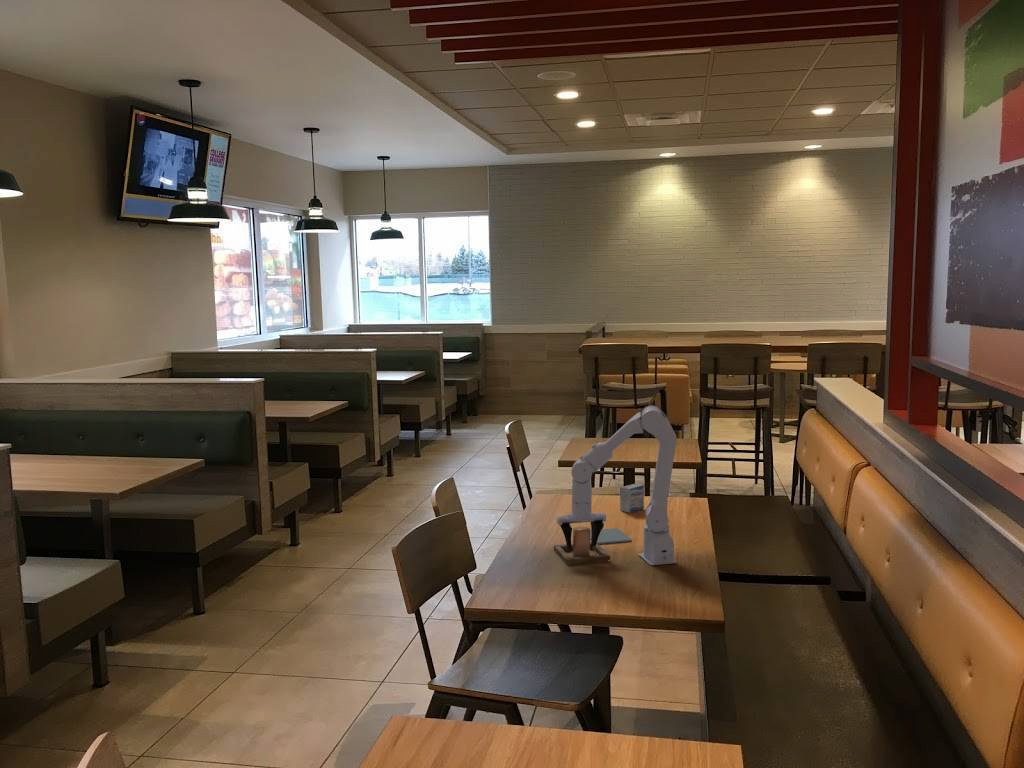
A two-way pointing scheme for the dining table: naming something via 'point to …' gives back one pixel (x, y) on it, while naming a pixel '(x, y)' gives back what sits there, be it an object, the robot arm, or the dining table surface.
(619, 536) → the rubber mat
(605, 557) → the frame
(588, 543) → the terracotta cylinder
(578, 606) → the dining table surface
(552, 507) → the dining table surface
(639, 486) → the medicine box
